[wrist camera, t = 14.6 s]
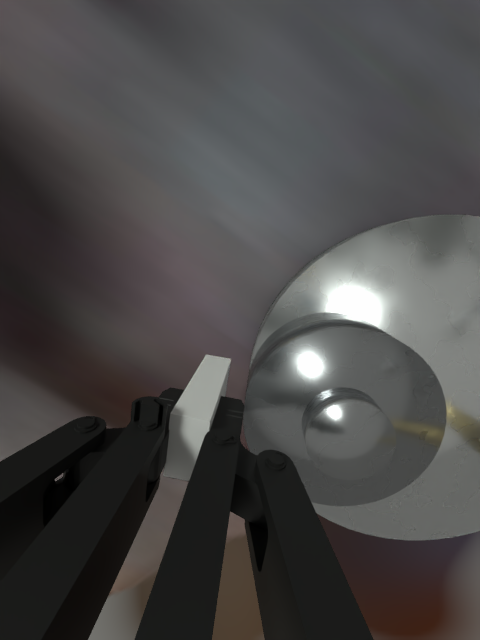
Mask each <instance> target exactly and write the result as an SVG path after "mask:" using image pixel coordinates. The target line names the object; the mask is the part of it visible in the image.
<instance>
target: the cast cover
mask: <svg viewBox="0 0 480 640" xmlns="http://www.w3.org/2000/svg"><path fill="white" fill-rule="evenodd" d="M446 415H447V411H446V402H445V397H444V394H443V390H442V387H441V385H440V383H439V381H438V378H437V376H436V375H435V373H434V372H433V370H432V369H431V367H430V366H429V365H428V364H427V362H426V361H425V360H424V359H423V358H422V357H421V356H420V355H419V354H418V353H416V352H415V351H414V350H413V349H412V348H410V347H409V346H407V345H405V344H404V343H402V342H401V341H399V340H397V339H396V338H394V337H392V336H391V335H389V334H388V333H386V332H384V331H383V330H381V329H380V328H378V327H376V326H375V325H373V324H371V323H370V322H368V321H366V320H364V319H361V318H359V317H356V316H352V315H349V314H344V313H337V312H323V313H314V314H310V315H305V316H302V317H299V318H297V319H294V320H292V321H290V322H288V323H286V324H284V325H283V326H281V327H280V328H278V329H277V330H276V331H274V332H273V333H272V334H271V335H270V336H269V337H268V338H267V339H266V340H265V341H264V343H263V344H262V345H261V346H260V348H259V350H258V351H257V353H256V355H255V357H254V359H253V361H252V364H251V367H250V370H249V375H248V382H247V390H246V398H245V405H244V417H243V425H244V433H245V438H246V441H247V445H248V447H249V450H250V452H251V453H253V454H255V455H258V454H259V453H260V452H262V451H264V450H277V451H280V452H282V453H284V454H286V455H287V456H288V457H290V459H291V460H292V461H293V463H294V465H295V467H296V469H297V472H298V474H299V476H300V478H301V480H302V483H303V485H304V487H305V489H306V491H307V494H308V496H309V498H310V500H311V502H313V503H317V504H322V505H328V506H356V505H363V504H368V503H372V502H376V501H379V500H381V499H384V498H387V497H389V496H391V495H393V494H395V493H397V492H399V491H401V490H402V489H404V488H405V487H407V486H408V485H410V484H411V483H412V482H413V481H414V480H416V479H417V478H418V477H419V476H420V475H421V474H422V473H423V472H424V471H425V470H426V469H427V467H428V466H429V465H430V463H431V462H432V460H433V459H434V457H435V456H436V454H437V452H438V450H439V448H440V445H441V443H442V440H443V437H444V433H445V427H446Z"/></svg>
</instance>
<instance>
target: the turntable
mask: <svg viewBox="0 0 480 640" xmlns="http://www.w3.org/2000/svg"><path fill="white" fill-rule="evenodd" d="M323 312H337V313H344V314H349V315H352V316H356V317H359V318H361V319H364V320H366V321H368V322H370V323H371V324H373V325H375V326H376V327H378V328H380V329H381V330H383V331H384V332H386V333H388V334H389V335H391V336H392V337H394V338H396V339H397V340H399V341H401V342H402V343H404V344H405V345H407V346H409V347H410V348H412V349H413V350H414V351H415V352H416V353H418V354H419V355H420V356H421V357H422V358H423V359H424V360H425V361H426V362H427V364H428V365H429V366H430V367H431V369H432V370H433V372H434V373H435V375H436V376H437V378H438V381H439V383H440V385H441V387H442V390H443V394H444V397H445V402H446V411H447V415H446V427H445V433H444V437H443V440H442V443H441V445H440V448H439V450H438V452H437V454H436V456H435V457H434V459H433V460H432V462H431V463H430V465H429V466H428V467H427V469H426V470H425V471H424V472H423V473H422V474H421V475H420V476H419V477H418V478H417V479H416V480H414V481H413V482H412V483H411V484H410V485H408V486H407V487H405V488H404V489H402V490H401V491H399V492H397V493H395V494H393V495H391V496H389V497H387V498H384V499H381V500H379V501H376V502H372V503H368V504H363V505H356V506H328V505H322V504H317V503H313V502H312V505H313V507H314V509H315V511H316V513H317V514H319V515H320V516H322V517H324V518H326V519H327V520H329V521H331V522H334V523H336V524H338V525H340V526H343V527H345V528H347V529H350V530H354V531H357V532H361V533H364V534H367V535H372V536H377V537H382V538H387V539H399V540H435V539H443V538H452V537H456V536H461V535H465V534H470V533H474V532H477V531H480V217H478V216H471V215H433V216H425V217H417V218H410V219H406V220H402V221H398V222H394V223H391V224H387V225H383V226H379V227H375V228H371V229H369V230H366V231H364V232H361V233H359V234H356V235H354V236H351V237H349V238H347V239H345V240H343V241H341V242H339V243H337V244H336V245H334V246H332V247H330V248H328V249H327V250H325V251H324V252H323V253H321V254H320V255H318V256H317V257H316V258H314V259H313V260H311V261H310V262H309V263H308V264H306V265H305V266H304V267H303V268H302V269H301V270H300V271H299V272H298V273H297V274H296V275H295V276H294V277H293V278H292V279H291V280H290V281H289V282H288V283H287V285H286V286H285V287H284V288H283V289H282V291H281V292H280V293H279V294H278V296H277V297H276V299H275V300H274V302H273V303H272V305H271V307H270V308H269V310H268V311H267V313H266V315H265V317H264V319H263V322H262V324H261V326H260V328H259V330H258V333H257V336H256V340H255V343H254V346H253V349H252V355H251V361H250V367H251V364H252V361H253V359H254V357H255V355H256V353H257V351H258V350H259V348H260V346H261V345H262V344H263V343H264V341H265V340H266V339H267V338H268V337H269V336H270V335H271V334H272V333H273V332H274V331H276V330H277V329H278V328H280V327H281V326H283V325H284V324H286V323H288V322H290V321H292V320H294V319H297V318H299V317H302V316H305V315H310V314H314V313H323ZM249 370H250V368H249Z"/></svg>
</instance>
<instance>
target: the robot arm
mask: <svg viewBox="0 0 480 640" xmlns="http://www.w3.org/2000/svg"><path fill="white" fill-rule="evenodd" d="M230 363H231V359H228V358H223V357H217V356H211V355H206V356H205V357H204V359H203V361H202V362H201V364H200V366H199V367H198V369H197V371H196V372H195V374H194V376H193V377H192V379H191V380H190V382H189V384H188V385H187V387H186V389H185V390H181V389H176V388H169V389H167V390H165V391H163V392H162V393H161V395H160V396H159V398H158V397H142V398H139V399H136V400H135V401H133V402H132V411H131V422H130V423H129V425H128V426H127V427H126V428H112V429H106V423H105V420H103V419H101V418H99V417H95V416H86V417H81V418H77V419H75V420H73V421H71V422H69V423H67V424H65V425H64V426H62V427H60V428H58V429H57V430H55V431H53V432H51V433H50V434H48V435H46V436H44V437H43V438H41V439H39V440H37V441H36V442H34V443H32V444H31V445H29V446H27V447H25V448H24V449H22V450H20V451H18V452H17V453H15V454H13V455H11V456H10V457H8V458H6V459H4V460H3V461H1V462H0V640H88V638H89V636H90V634H91V632H92V629H93V627H94V625H95V623H96V621H97V619H98V617H99V614H100V612H101V610H102V608H103V606H104V603H105V602H106V599H107V597H108V595H109V593H110V591H111V589H112V586H113V584H114V582H115V580H116V578H117V576H118V573H119V571H120V569H121V567H122V565H123V563H124V560H125V558H126V556H127V554H128V552H129V550H130V547H131V545H132V543H133V541H134V539H135V537H136V534H137V532H138V530H139V528H140V526H141V524H142V521H143V519H144V517H145V515H146V513H147V511H148V508H149V506H150V504H151V502H152V500H153V498H154V495H155V493H156V491H157V489H158V487H159V482H160V474H161V472H162V470H163V468H164V475H163V476H165V477H170V478H175V479H180V480H185V481H189V483H188V486H187V489H186V492H185V495H184V498H183V501H182V503H181V506H180V509H179V512H178V515H177V518H176V521H175V524H174V527H173V530H172V533H171V535H170V538H169V541H168V544H167V547H166V550H165V553H164V556H163V559H162V562H161V564H160V567H159V570H158V573H157V576H156V579H155V582H154V585H153V588H152V591H151V594H150V596H149V599H148V602H147V605H146V608H145V611H144V614H143V617H142V620H141V623H140V626H139V628H138V631H137V634H136V638H135V640H212V634H213V626H214V619H215V612H216V605H217V598H218V591H219V584H220V577H221V570H222V563H223V556H224V549H225V542H226V535H227V528H228V521H229V514H230V511H231V512H233V513H234V514H236V515H238V516H240V517H242V518H244V519H245V529H246V535H247V540H248V545H249V551H250V558H251V563H252V569H253V575H254V580H255V586H256V591H257V597H258V603H259V609H260V614H261V620H262V626H263V632H264V637H265V640H373V637H372V635H371V633H370V631H369V629H368V626H367V624H366V622H365V620H364V617H363V615H362V613H361V611H360V609H359V606H358V604H357V602H356V600H355V598H354V595H353V593H352V591H351V589H350V587H349V584H348V582H347V580H346V578H345V575H344V573H343V571H342V569H341V567H340V564H339V562H338V560H337V558H336V556H335V553H334V551H333V549H332V547H331V544H330V542H329V540H328V538H327V536H326V533H325V531H324V529H323V527H322V525H321V522H320V520H319V518H318V516H317V514H316V511H315V509H314V507H313V505H312V502H311V500H310V498H309V496H308V494H307V491H306V489H305V487H304V485H303V483H302V480H301V478H300V476H299V474H298V472H297V469H296V467H295V465H294V463H293V461H292V460H291V459H290V457H288V456H287V455H286V454H284V453H282V452H280V451H277V450H264V451H262V452H260V453H259V454H258V455H255V454H253V453H251V452H250V451H248V450H247V449H245V448H244V447H243V445H242V444H241V441H240V434H241V426H242V419H243V412H244V404H243V403H242V401H241V400H239V399H234V398H229V397H225V395H226V389H227V383H228V376H229V370H230ZM62 473H63V477H62V478H61V479H59V480H57V481H55V478H57V477H58V476H59V475H61V474H62Z"/></svg>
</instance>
